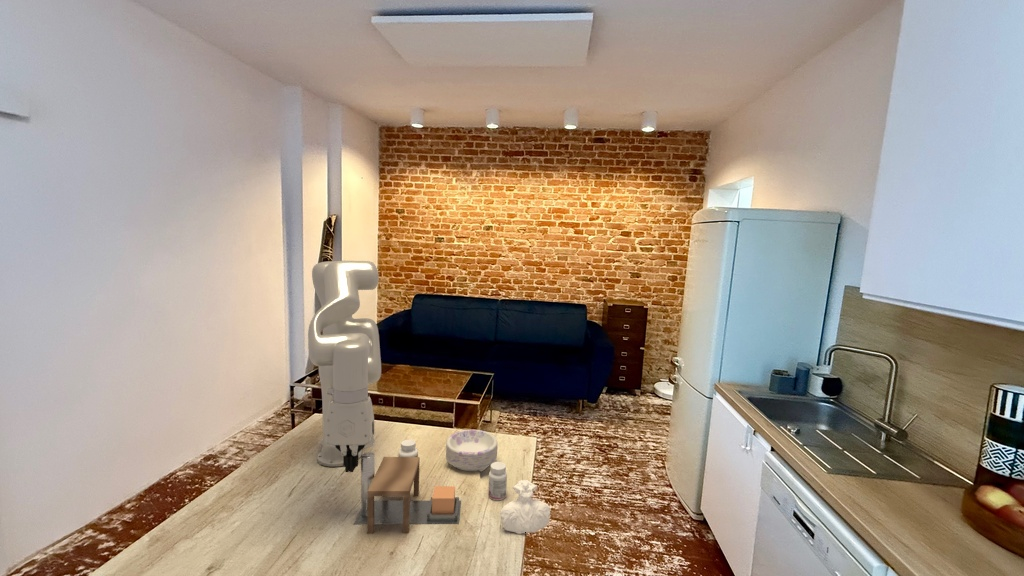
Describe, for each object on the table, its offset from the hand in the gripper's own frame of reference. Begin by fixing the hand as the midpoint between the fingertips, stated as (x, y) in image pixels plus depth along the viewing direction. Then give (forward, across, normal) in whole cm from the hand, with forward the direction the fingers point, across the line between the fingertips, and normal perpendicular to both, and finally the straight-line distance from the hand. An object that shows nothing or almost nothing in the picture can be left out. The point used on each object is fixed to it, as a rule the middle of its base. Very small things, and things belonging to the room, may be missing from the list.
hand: (351, 469), depth 100 cm
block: (+11, +22, 0) cm, 24 cm away
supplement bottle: (+12, +10, +19) cm, 24 cm away
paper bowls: (+12, +28, +24) cm, 39 cm away
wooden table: (+12, +14, 0) cm, 18 cm away
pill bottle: (+12, +35, +9) cm, 38 cm away
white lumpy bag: (+12, +41, -3) cm, 43 cm away
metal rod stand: (+12, +14, 0) cm, 18 cm away
